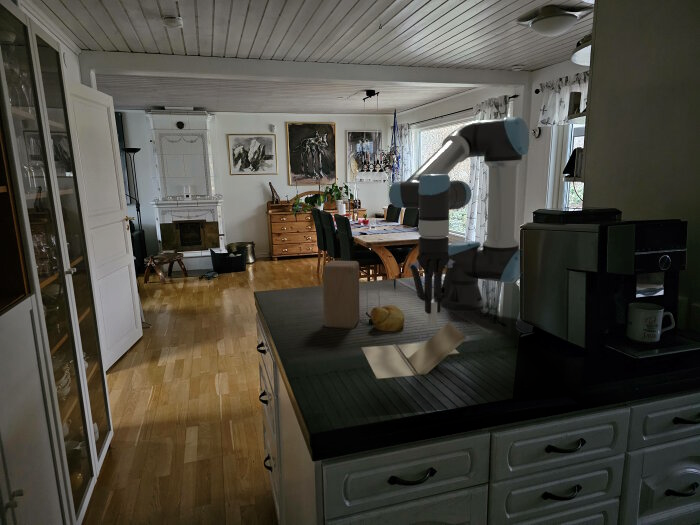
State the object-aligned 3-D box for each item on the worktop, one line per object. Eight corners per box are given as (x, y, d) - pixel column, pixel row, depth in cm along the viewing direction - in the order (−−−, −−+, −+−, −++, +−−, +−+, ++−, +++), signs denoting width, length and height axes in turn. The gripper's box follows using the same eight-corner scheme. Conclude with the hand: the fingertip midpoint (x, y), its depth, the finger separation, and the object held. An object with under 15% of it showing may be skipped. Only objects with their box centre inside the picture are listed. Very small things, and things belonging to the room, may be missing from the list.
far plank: (445, 344, 120) (445, 340, 120) (459, 357, 112) (459, 352, 111) (397, 349, 118) (397, 345, 118) (406, 362, 110) (406, 358, 109)
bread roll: (381, 320, 143) (381, 297, 141) (410, 323, 139) (410, 299, 138) (368, 333, 131) (368, 308, 130) (399, 337, 128) (399, 311, 126)
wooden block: (354, 329, 134) (353, 266, 131) (323, 327, 136) (321, 265, 133) (360, 319, 144) (359, 260, 140) (330, 318, 146) (329, 259, 142)
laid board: (395, 349, 118) (395, 344, 118) (417, 379, 100) (417, 374, 100) (361, 351, 117) (361, 346, 117) (377, 383, 98) (377, 377, 98)
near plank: (451, 325, 109) (449, 322, 109) (467, 337, 100) (464, 334, 100) (410, 362, 109) (407, 359, 109) (422, 377, 100) (418, 374, 100)
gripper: (452, 233, 114) (450, 318, 119) (404, 235, 112) (404, 321, 117) (464, 236, 107) (461, 327, 112) (413, 239, 105) (413, 331, 109)
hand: (432, 324), depth 114 cm, fingers closed
